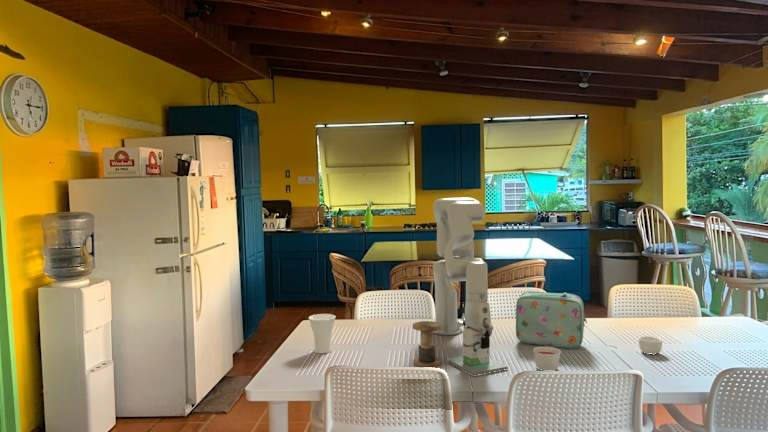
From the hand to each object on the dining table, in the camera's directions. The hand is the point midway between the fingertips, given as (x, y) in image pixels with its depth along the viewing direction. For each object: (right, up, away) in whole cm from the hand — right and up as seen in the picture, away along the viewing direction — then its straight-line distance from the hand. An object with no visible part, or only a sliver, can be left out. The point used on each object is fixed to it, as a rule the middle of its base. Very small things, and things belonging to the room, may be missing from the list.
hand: (477, 344), depth 187 cm
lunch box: (+34, -6, +25) cm, 43 cm away
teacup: (+67, -6, +13) cm, 69 cm away
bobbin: (-17, -8, +4) cm, 19 cm away
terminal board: (0, -8, 0) cm, 8 cm away
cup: (-57, -8, +20) cm, 61 cm away
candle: (+24, -8, -3) cm, 25 cm away
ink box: (0, -7, +1) cm, 7 cm away
